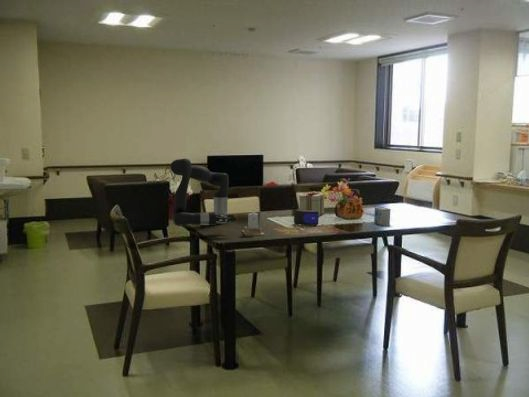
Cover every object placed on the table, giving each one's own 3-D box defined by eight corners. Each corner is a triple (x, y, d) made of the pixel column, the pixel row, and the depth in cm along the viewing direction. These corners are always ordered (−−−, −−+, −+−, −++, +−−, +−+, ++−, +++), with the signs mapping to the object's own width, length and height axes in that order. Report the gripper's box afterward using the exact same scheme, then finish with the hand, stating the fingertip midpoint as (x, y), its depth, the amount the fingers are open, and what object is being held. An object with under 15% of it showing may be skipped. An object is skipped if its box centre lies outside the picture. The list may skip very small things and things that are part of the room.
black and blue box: (293, 224, 350) (293, 210, 348) (294, 223, 354) (294, 209, 353) (317, 225, 347) (318, 211, 346) (318, 224, 352) (318, 210, 350)
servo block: (248, 231, 320) (248, 212, 319) (256, 231, 322) (256, 212, 320) (249, 233, 316) (249, 213, 314) (257, 232, 317) (258, 213, 315)
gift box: (300, 212, 404) (301, 189, 402) (324, 213, 398) (325, 190, 396) (294, 215, 388) (295, 192, 386) (319, 217, 382) (319, 193, 380)
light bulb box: (373, 222, 363) (374, 206, 362) (382, 222, 365) (383, 206, 363) (381, 225, 353) (381, 209, 351) (390, 224, 354) (390, 208, 353)
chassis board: (242, 231, 324) (242, 225, 323) (259, 231, 326) (259, 224, 326) (246, 235, 311) (246, 229, 311) (264, 235, 314) (264, 228, 313)
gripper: (209, 214, 304) (237, 213, 308) (206, 210, 318) (233, 209, 322) (209, 227, 305) (237, 226, 309) (206, 222, 319) (233, 222, 323)
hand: (234, 217), depth 315 cm, fingers open, 8 cm apart
